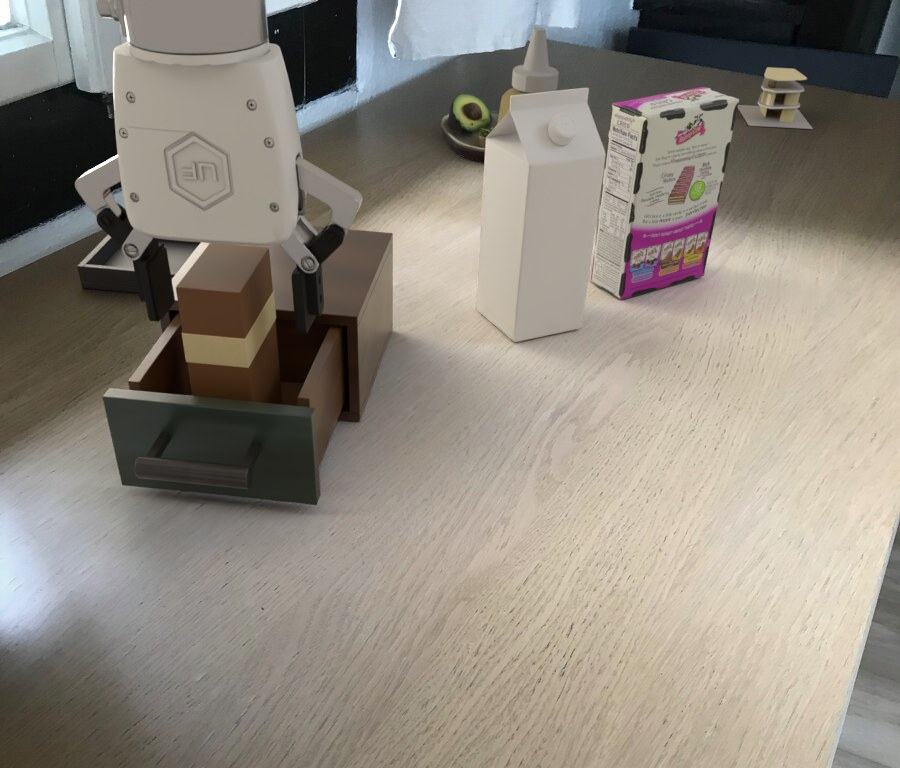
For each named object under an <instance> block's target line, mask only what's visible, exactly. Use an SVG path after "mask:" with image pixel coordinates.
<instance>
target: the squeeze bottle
mask: <svg viewBox="0 0 900 768" xmlns="http://www.w3.org/2000/svg"><path fill="white" fill-rule="evenodd" d="M546 31H547V30H546V28H544V27H534V28H533V29H532V33H531V36H530V40H529V44H528V47H527V51H526V54H525V57H524V62H523V64H519V65H515V66H514V67H513V68H512V73H511V74H512V75H511V86H512V88H509V89H508V90H506V91H505V92H504V93H503V95H502V96H501V99H500V106H499V110H498V111H499V117H498V123H499V122H500V121H501V120H502V119H503V117H504V116H505V115H506V114H507V113H508V112H509V109H510V96H512V95H521V94H531V93H540V92H550V91H557V89H558V85H559V84H558V83H559V75H560V72H559V71H558V69H557V68H555V67H553V66H550V64H549V52H548V42H547V41H548V40H547V33H546Z"/></svg>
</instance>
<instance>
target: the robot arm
mask: <svg viewBox="0 0 900 768" xmlns="http://www.w3.org/2000/svg"><path fill="white" fill-rule="evenodd" d="M95 3H96V9H97V12H98V13H99V14H98V15H99V16H100V17H101V18H103V19H113V20H114V21H115V22H119V24H120V27H121V33H122V37H123V38H126V40H127V41H125V42H124V43H122V44H119V45H117V46H116V47H114V48H113V56H112V57H113V59H112V91H113V92H112V93H113V94H112V96H113V97H112V98H113V111H114V113H113V114H114V115H113V116H114V130H115V141H116V142H115V143H116V151H117V152H116V153H117V154H116V155H115V156H112V157H110V158H109V159H107V160H106V161H103V162H102V163H100V164H98V165H96V166H95V167H93V168H91V169H88V170H87V171H85V172H84V173H83V174H82V175H80V177H77V179H76V180H75V182H74V188H75V190H76V191H77V193H78V195H79V196H80V197H81V199H82V200H83V202H84V204H85V205H86V206H87V207H88V209H89V210H90V212H91V214H94V215H95V217H96V223H97V225H98V226H99V227H100V229H101V230H103V231H104V233H106V234H107V235H109V236H110V237H111V238H113V239H114V240H115V241H116V242H117V243H118V244H119V245H120V246H121V247H122V252H123V254H124V255H125V256H126V257H127V258H128V259H130V260H132V261H133V266H134V271H135V276H136V281H137V286H138V292H139V293H138V296H139V299H140V302H142V303H145V307H146V311H147V312H146V313H147V317H148V320H149V321H150V322H160V319H161V320H162V318H163V317H164V316H165V315H166V313H167V312H168V311H169V309H170V308H171V307H172V305H173V304H174V302H175V297H174V291H173V285H172V279H171V273H170V267H169V261H168V255H167V250H166V248H165V247H164V244H163V243H158V239H166V240H177V241H189V242H202V243H216V244H230V245H245V246H274V245H278V244H279V245H280V246H281V247H282V248H283V249H284V250H285V251H286V253H287V254H288V255H289V256H290V257H291V258H292V259H293V261H294V262H295V263H296V268H295V269H294V271H293V273H292V277H291V280H292V292H293V304H294V315H295V327H296V330H298V331H299V333H308V331H309V329H310V327H311V325H312V323H313V321H314V319H315V317H316V315H318V316H321V314H322V312H323V308H324V293H323V277H322V263H323V262H324V261H325V260H326V259H327V258H328V257H329V256H330V255H331V254H332V253H333V252H334V251H335V250H336V249H337V248H338V247H339V246H340V245H341V244H342V242H343V240H344V239H345V237H346V235H347V233H348V230H349V229H351V226H352V224H353V222H354V220H355V218H356V216H357V214H358V212H359V210H360V207H361V206H362V204H363V200H364V199H363V195H362V193H361V192H359V190H357V189H356V188H353V187H352V186H350V185H348V184H347V183H346V182H343V181H342V180H340V179H339V178H337V177H335V176H333V175H332V174H330V173H328V172H327V171H325V170H323V169H322V168H320V167H318V166H317V165H315V164H313V163H311V162H310V161H308V160H307V159H305V158H304V157H303V148H302V143H301V135H300V129H299V124H298V118H297V117H298V116H297V113H296V106H295V102H294V97H293V92H292V88H291V83H290V79H289V74H288V72H287V68H286V63H285V60H284V56H283V53H282V50H281V47H280V46H279V45H278V44H276V43H271V42H270V40H269V39H270V38H269V28H268V26H269V25H268V14H267V4H266V0H95ZM119 183H120V186H121V191H122V198H123V203H124V206H123V205H122V204H120V203H118V202H117V201H116V200H115V196H114V195H113V193H112V191H111V187H114V186H115V185H117V184H119ZM307 195H310V196H311V197H313V198H314V199H316V200H318V201H319V202H321V203H323V204H325V205H326V206H328V208H329V209H330V210H331V217H330V219H329V222H328V223H327V224H326V225H325V226H323V227H324V228H323V229H322V230H321V231H320V232H319V233H317V231H316V230H315V229H314V228H313V227H312V226H313V225H312V224H311V223H310V222H309V220H308V219H307V218H306V217H305V216H304V215H305V214H306V211H307ZM157 238H158V239H157Z"/></svg>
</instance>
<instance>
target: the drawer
mask: <svg viewBox="0 0 900 768" xmlns="http://www.w3.org/2000/svg"><path fill="white" fill-rule="evenodd" d="M275 322H276V333H277V345H278V357H279V368H280V380H281V392H282V403H283V405H281V404H271V403H261V402H250V401H240V400H229V399H219V398H209V397H198V396H192V389H191V383H190V377H189V370H188V364H187V362H186V358H185V352H184V345H183V339H182V332H183V331H182V325H181V318H180V312H178V313H177V315H176V316H175V318H174V319H173V320H172V322H171V323H170V324H169V326H168V327H167V328H166V330H165V331H164V333H163V334H161V335H160V337H159V338H158V339H157V341H156V342H155V343H154V345H153V346H152V347H151V349H150V350H149V351H148V353H147V354H146V356H144V358H143V360H142V361H141V362H140V364H139V365H138V367H137V368H136V369H135V371H134V372H133V373H132V375H131V376H130V378H129V379H128V380H127V384H128V388H129V389H124V388H113V387H108V388H107V390H106V391H105V392H104V394H103V395H102V403H103V407H104V410H105V415H106V419H107V424H108V429H109V433H110V438H111V443H112V446H113V451H114V455H115V460H116V465H117V468H118V474H119V478H120V482H121V486H124V487H125V486H126V487H135V488H145V489H155V490H164V491H165V490H166V491H175V492H185V493H192V494H202V495H203V494H204V495H214V496H223V497H233V498H243V499H252V500H261V501H271V502H281V503H282V502H283V503H291V504H300V505H310V506H318V503H319V501H320V498H321V480H320V479H321V478H320V466H321V464H322V461H323V459H324V456H325V454H326V450H327V448H328V446H329V443H330V440H331V438H332V436H333V433H334V430H335V428H336V425H337V422H338V417H339V415H340V412H341V410H342V407H343V404H344V402H345V399H346V397H347V394H348V392H349V390H348V359H347V330H346V326H341V325H330V324H319V323H312V325H311V327H310V329H309V331H308V333H299V331H298V330H296V327H295V321H286V320H275Z"/></svg>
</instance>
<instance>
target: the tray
mask: <svg viewBox="0 0 900 768" xmlns="http://www.w3.org/2000/svg"><path fill="white" fill-rule="evenodd" d="M157 239H158V238H157ZM158 243H163V244H164V247H165V248H166V250H167V255H168V261H169V267H170V273H171V279H173V277H174V276H175V275H176V274H177V272H178V271H179V270H180V268H181V267H182V266H183V265H184V263H185V262H186V261H187V260H188V258H189V257H190V256H191V254H192V253H193V252H194V251H195V249H196V248H197V247H198V246H199V244H200V243H201V242H189V241H177V240H166V239H158ZM76 267H77V271H78V277H79V281H80V285H81V288H82V289H91V290H101V291H102V290H103V291H113V292H124V293H133V294H139V292H138V286H137V281H136V276H135V271H134V266H133V261H132V260H130V259H128V258H127V257H126V256H125V255H124V254H123V252H122V247H121V246H120V245H119V244H118V243H117V242H116V241H115V240H114V239H113V238H111V237H110V236H109V235H108V234H107V235H106V236H105V237H104V238H103V239H102V240H101V241H100V242H99V243H98V244H97V245H96V246H95V247H94V248H93V249H92V251H90V252H89V253H88V255H87V256H85V257H84V259H83V260H82V261H80V262H79V264H77V266H76Z"/></svg>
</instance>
